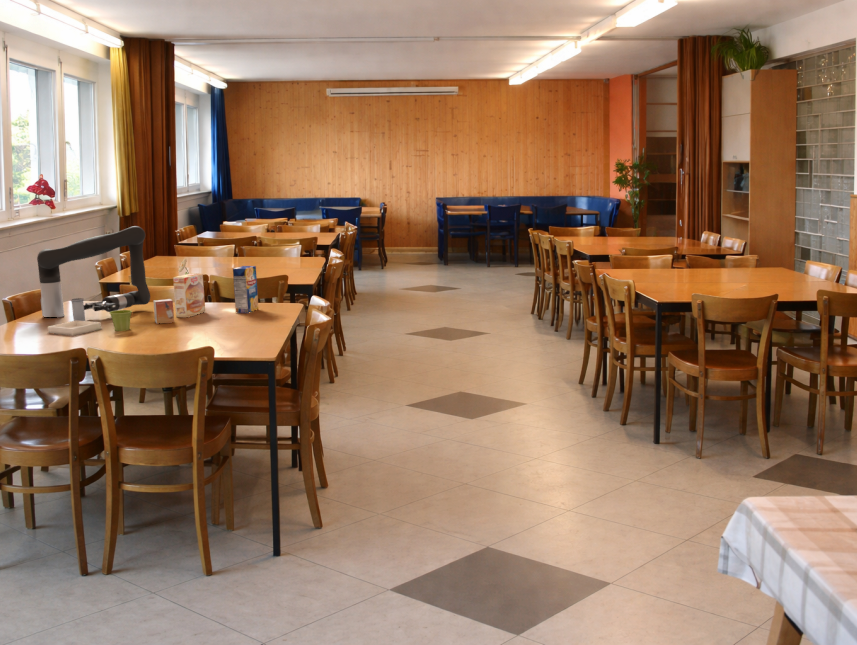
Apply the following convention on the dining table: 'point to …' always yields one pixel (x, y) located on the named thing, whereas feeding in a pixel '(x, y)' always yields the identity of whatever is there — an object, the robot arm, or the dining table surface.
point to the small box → (163, 311)
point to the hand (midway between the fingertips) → (88, 308)
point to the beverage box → (245, 289)
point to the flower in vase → (183, 266)
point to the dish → (74, 327)
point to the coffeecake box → (189, 295)
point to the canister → (78, 309)
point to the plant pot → (121, 319)
